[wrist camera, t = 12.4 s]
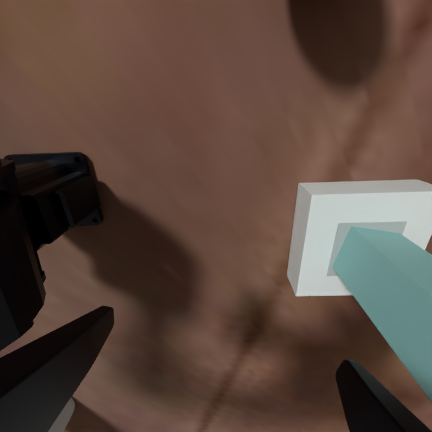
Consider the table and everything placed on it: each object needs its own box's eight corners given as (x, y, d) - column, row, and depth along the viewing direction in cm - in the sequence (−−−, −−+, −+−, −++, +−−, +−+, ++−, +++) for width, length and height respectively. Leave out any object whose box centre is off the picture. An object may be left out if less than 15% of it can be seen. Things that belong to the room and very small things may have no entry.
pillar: (332, 266, 19) (483, 473, 8) (351, 226, 17) (573, 417, 6) (376, 272, 19) (581, 481, 8) (399, 233, 18) (693, 430, 7)
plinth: (286, 274, 23) (296, 297, 20) (298, 183, 19) (312, 195, 16) (383, 272, 23) (406, 295, 20) (417, 179, 19) (451, 191, 16)
